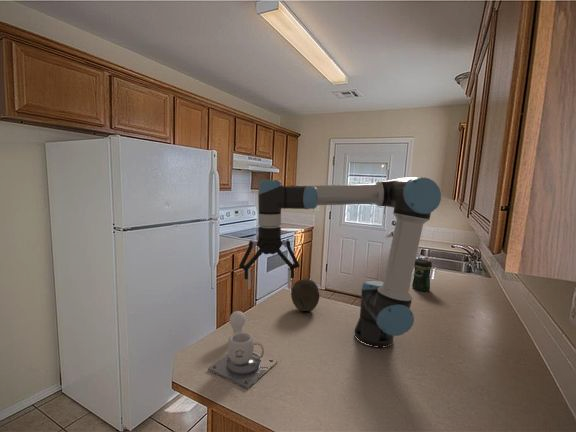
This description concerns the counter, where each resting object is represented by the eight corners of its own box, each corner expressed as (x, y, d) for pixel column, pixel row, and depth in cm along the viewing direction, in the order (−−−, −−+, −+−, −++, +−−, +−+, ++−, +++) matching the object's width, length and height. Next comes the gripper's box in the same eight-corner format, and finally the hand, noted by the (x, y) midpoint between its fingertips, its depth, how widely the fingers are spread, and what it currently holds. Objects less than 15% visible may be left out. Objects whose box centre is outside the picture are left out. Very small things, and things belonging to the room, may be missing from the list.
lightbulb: (227, 336, 115) (228, 309, 114) (242, 333, 117) (243, 307, 116) (230, 344, 109) (231, 316, 108) (246, 341, 112) (247, 313, 111)
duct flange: (277, 362, 99) (277, 357, 99) (247, 389, 86) (247, 383, 85) (240, 347, 107) (240, 342, 107) (207, 370, 94) (208, 364, 93)
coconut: (325, 312, 140) (326, 282, 139) (301, 319, 132) (303, 287, 131) (306, 302, 152) (308, 274, 150) (284, 307, 144) (285, 278, 142)
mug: (224, 367, 93) (224, 343, 92) (230, 351, 101) (231, 330, 100) (262, 369, 92) (262, 345, 91) (265, 354, 100) (266, 332, 100)
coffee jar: (431, 290, 178) (434, 260, 176) (424, 292, 174) (427, 262, 172) (417, 285, 186) (419, 257, 184) (409, 287, 182) (412, 258, 180)
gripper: (304, 224, 103) (303, 283, 105) (232, 224, 101) (233, 284, 103) (308, 227, 96) (307, 290, 98) (230, 228, 93) (231, 292, 95)
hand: (269, 287), depth 100 cm, fingers open, 13 cm apart
